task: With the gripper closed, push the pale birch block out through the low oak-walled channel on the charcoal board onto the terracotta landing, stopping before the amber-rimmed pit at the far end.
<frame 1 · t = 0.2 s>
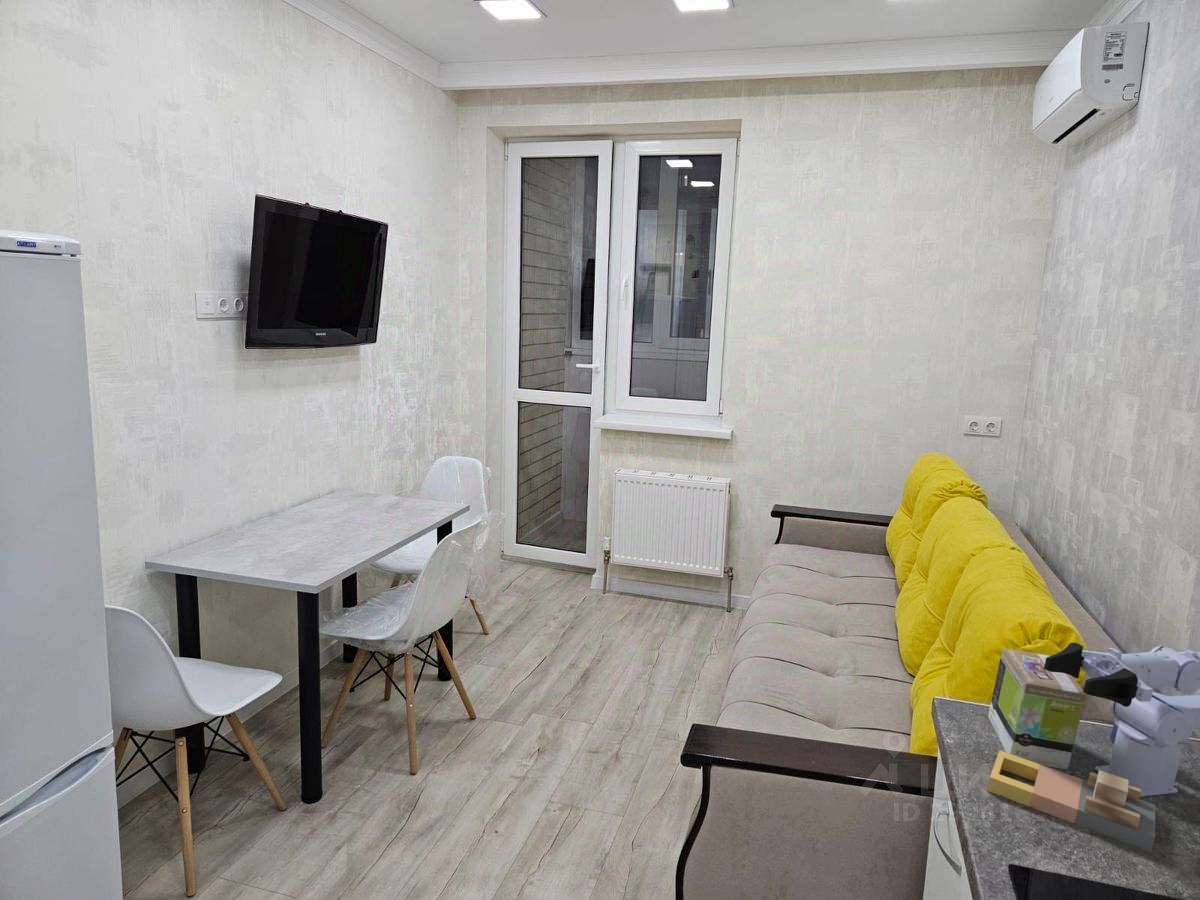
hand: (1065, 675, 128), 21 cm above the table, tool horizontal, fingers open, 7 cm apart
flask: (1128, 752, 148), on the table
tea box: (1025, 743, 148), on the table
channel walls: (1112, 799, 127), on the board, point 3 cm above the table
board: (1068, 804, 131), on the table
birch block: (1107, 803, 127), point 2 cm above the table, touching board
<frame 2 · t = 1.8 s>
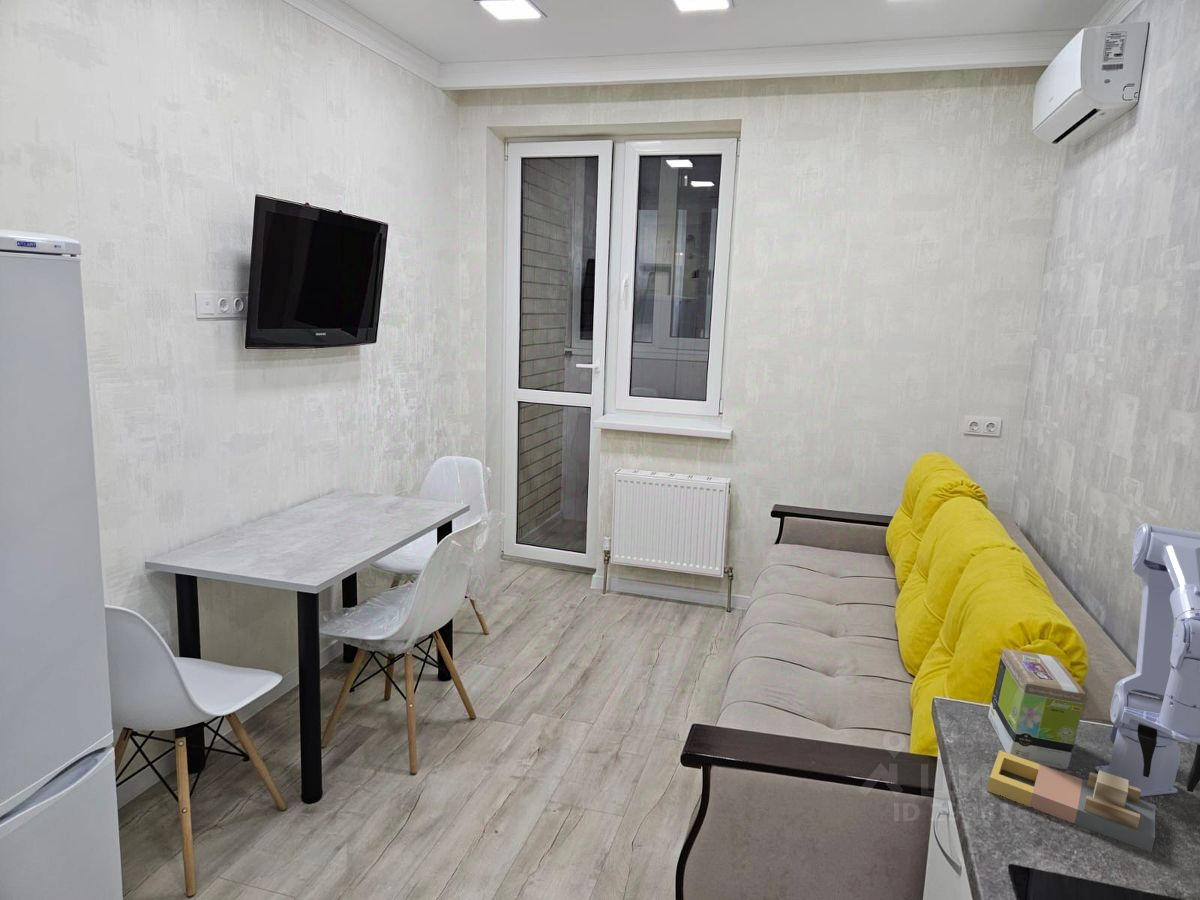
hand: (1167, 781, 122), 9 cm above the table, tool pointing down, fingers open, 5 cm apart
nothing on the table moved.
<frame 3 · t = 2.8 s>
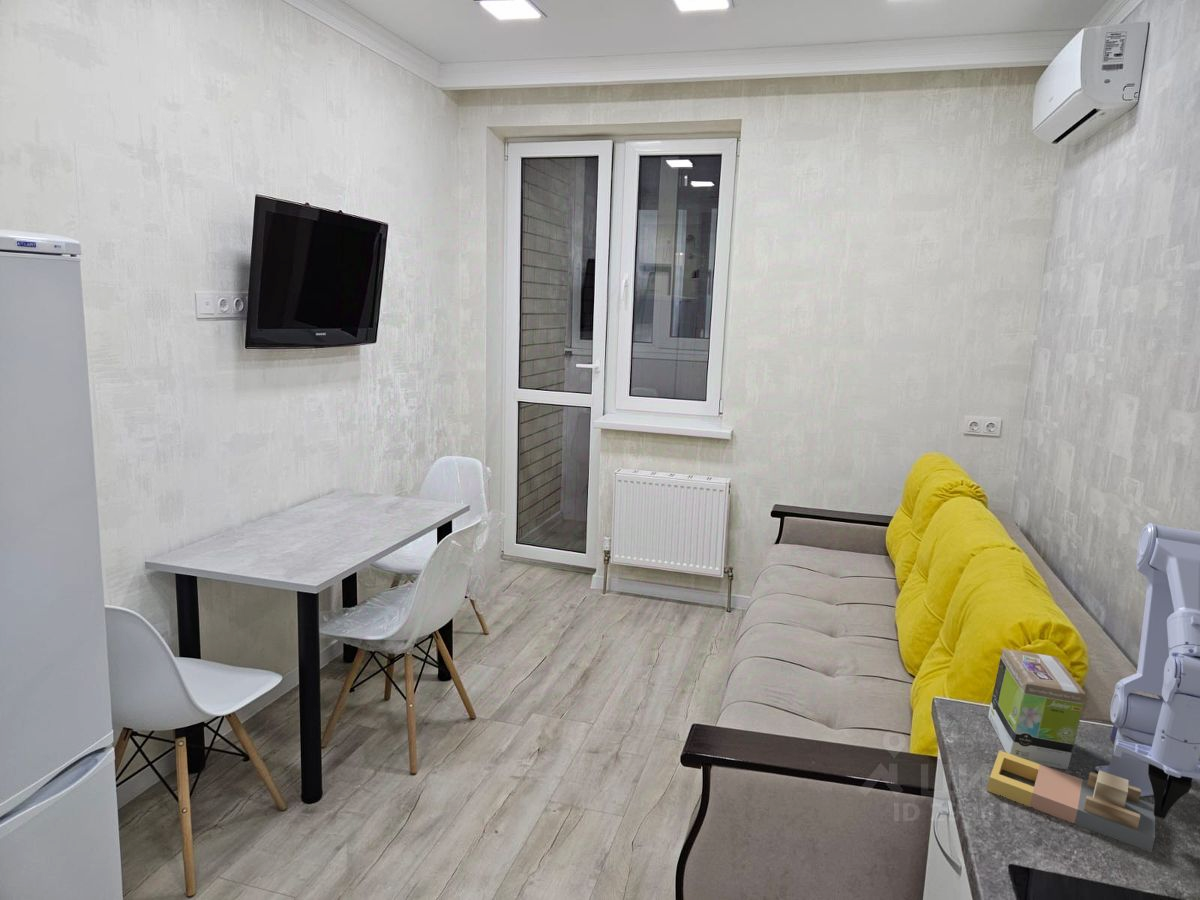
hand: (1159, 814, 124), 4 cm above the table, tool pointing down, fingers closed
nothing on the table moved.
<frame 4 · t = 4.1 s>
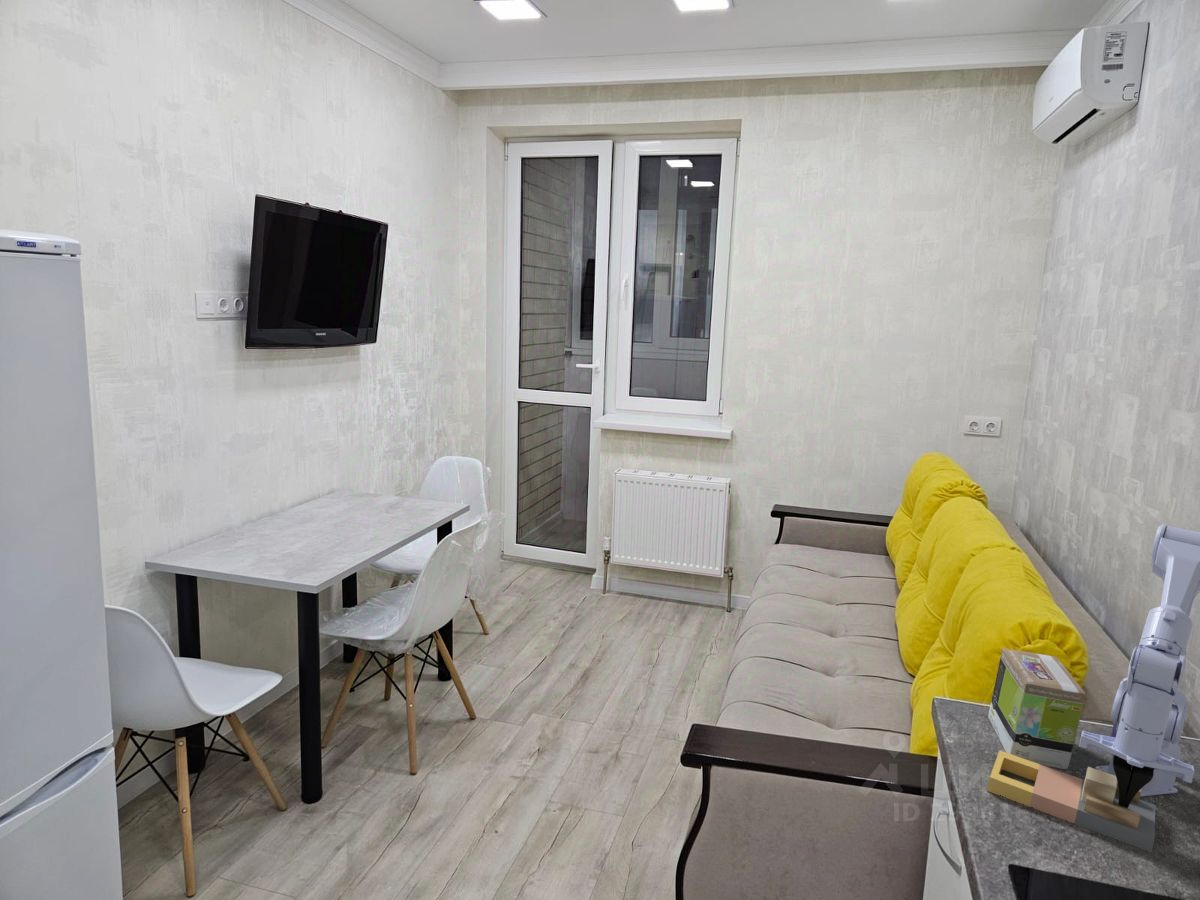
hand: (1123, 803, 126), 3 cm above the table, tool pointing down, fingers closed
birch block: (1096, 799, 128), point 2 cm above the table, touching board, gripper
everything else where it was.
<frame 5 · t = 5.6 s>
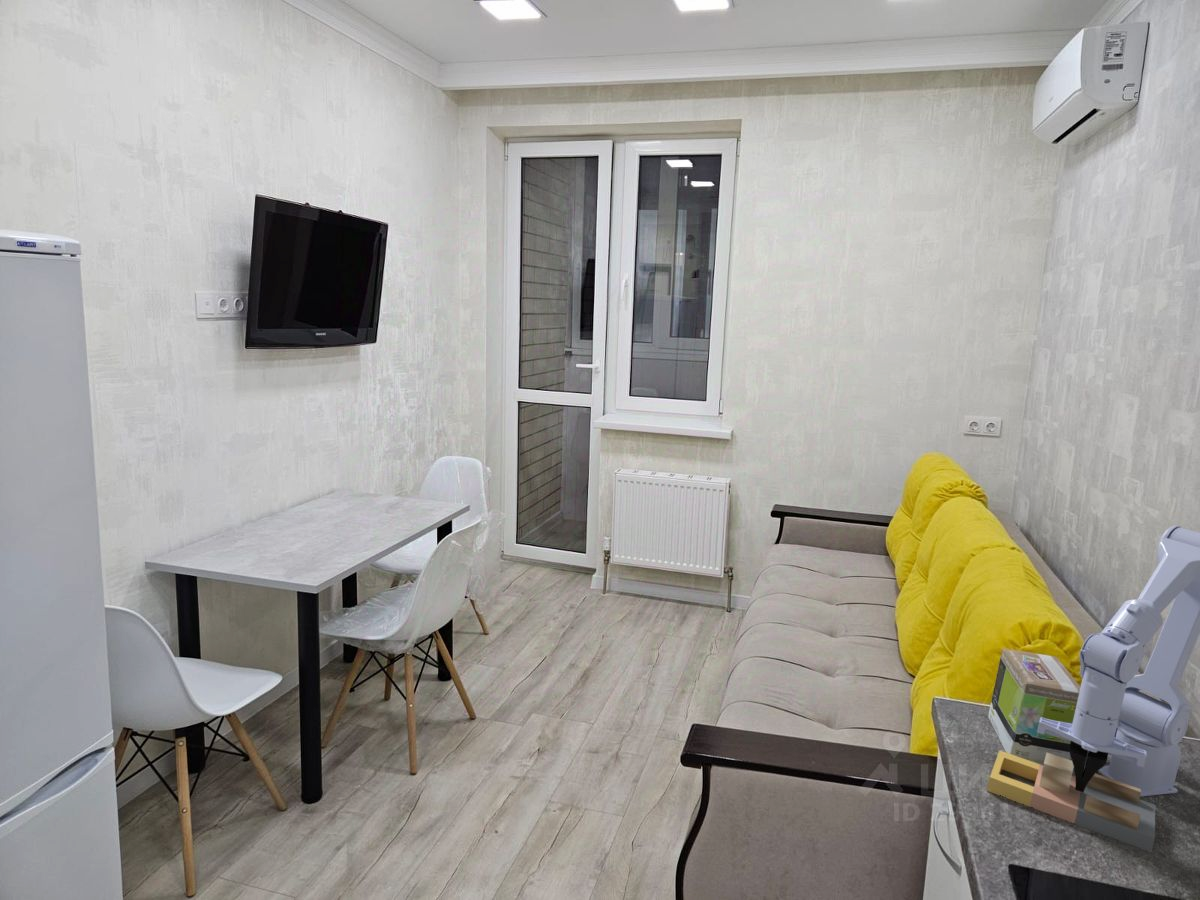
hand: (1079, 788, 129), 3 cm above the table, tool pointing down, fingers closed
birch block: (1054, 784, 131), point 3 cm above the table, touching board, gripper
everything else where it was.
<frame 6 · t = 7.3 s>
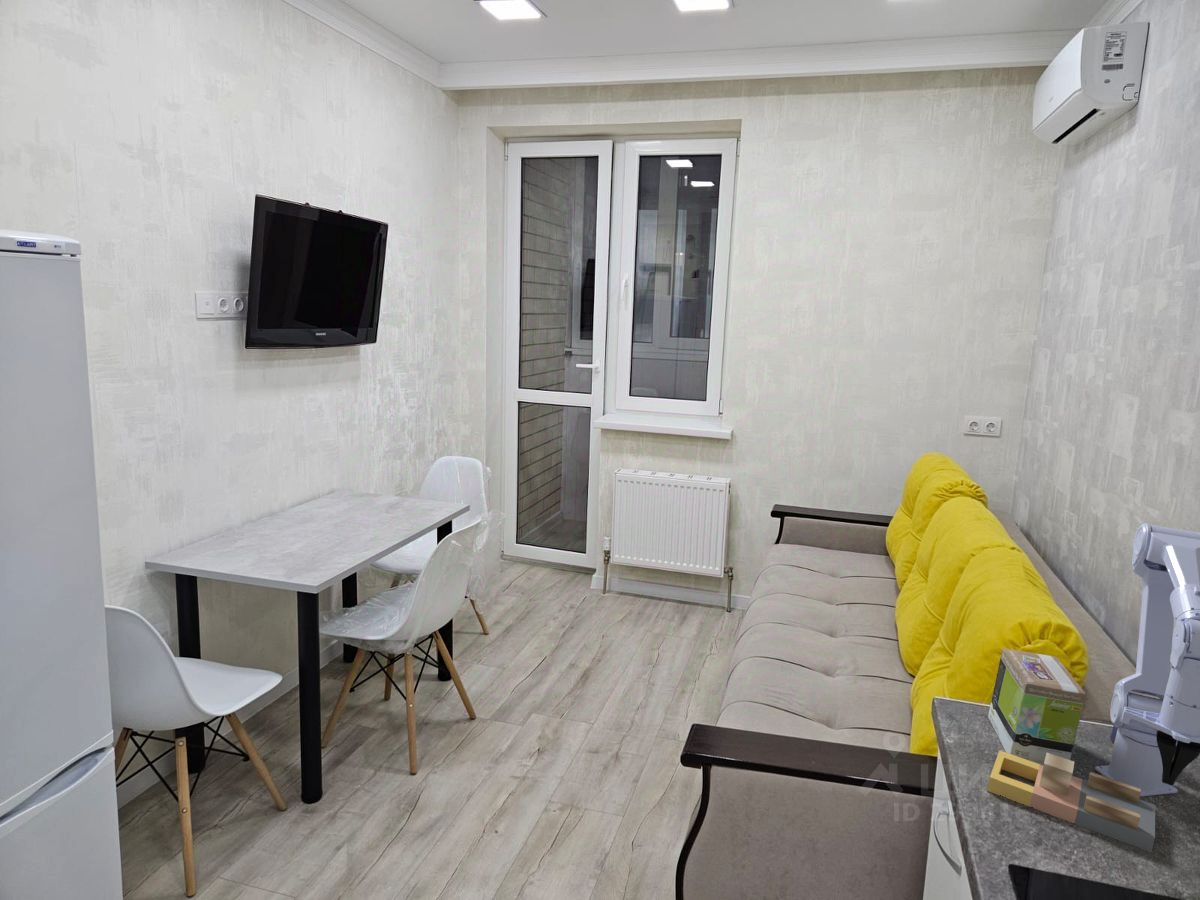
hand: (1167, 781, 122), 9 cm above the table, tool pointing down, fingers closed
birch block: (1054, 784, 131), point 2 cm above the table, touching board
everything else where it was.
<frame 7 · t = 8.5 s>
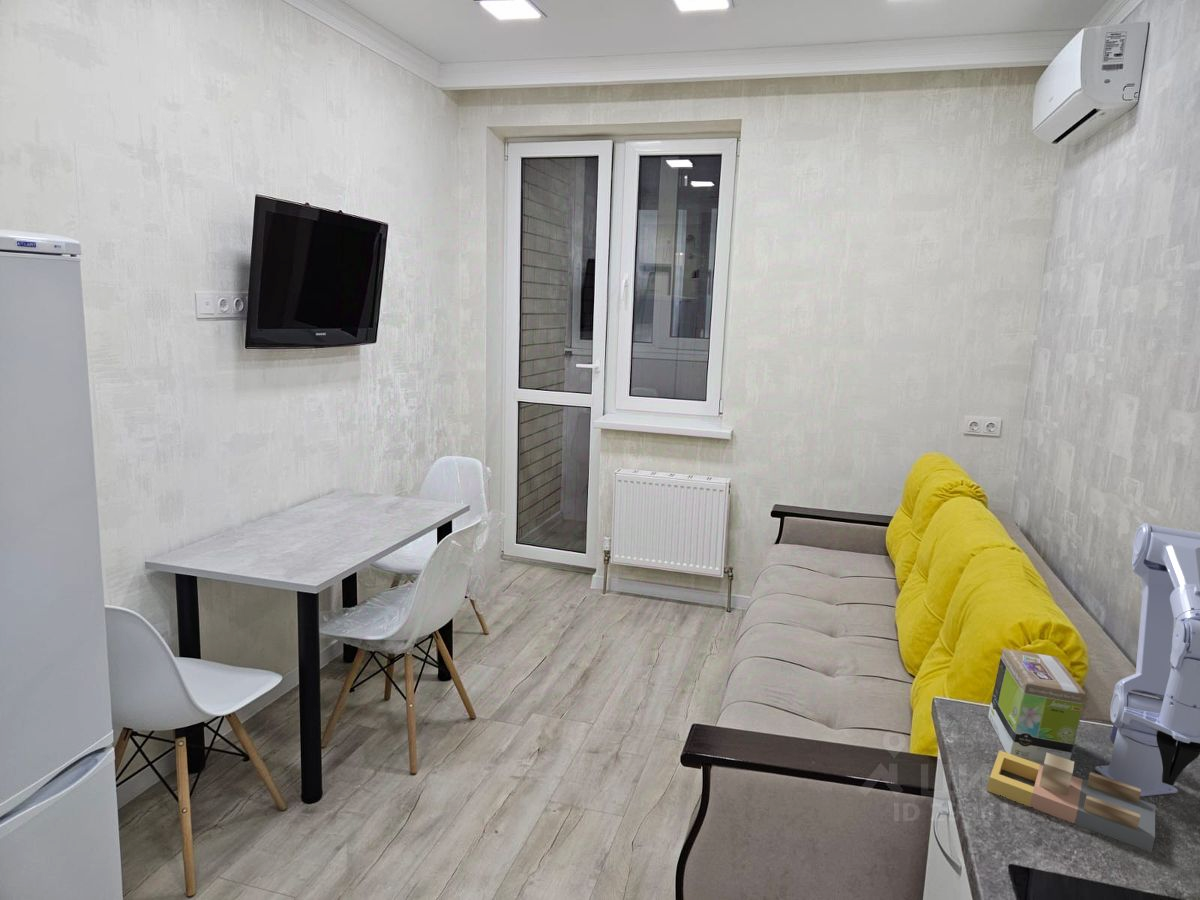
hand: (1167, 781, 122), 9 cm above the table, tool pointing down, fingers closed
nothing on the table moved.
at the end: birch block 0.9 cm from the target spot on the board, point 2.5 cm above the board's base; birch block moved 7.4 cm from its start; birch block tilted 0° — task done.
